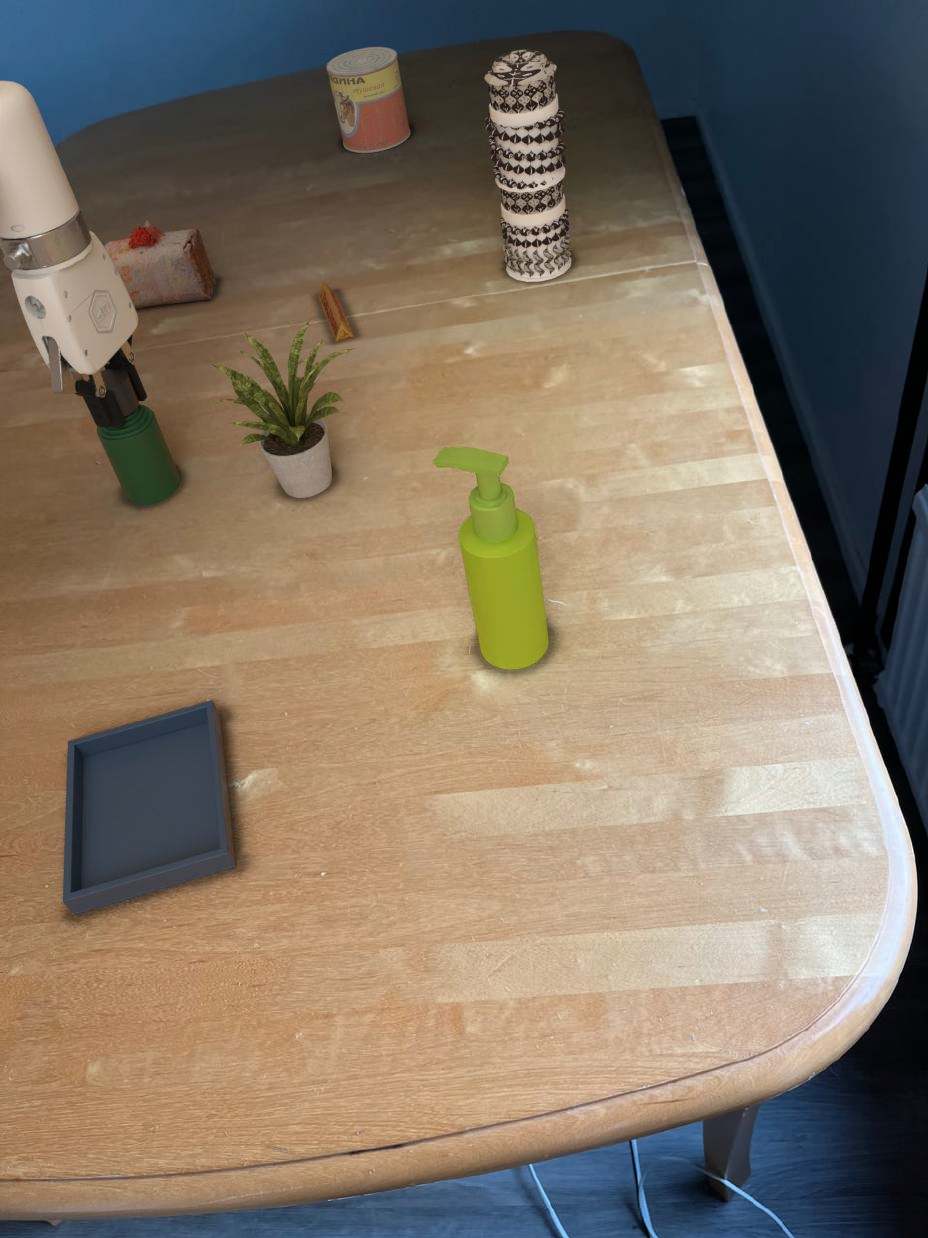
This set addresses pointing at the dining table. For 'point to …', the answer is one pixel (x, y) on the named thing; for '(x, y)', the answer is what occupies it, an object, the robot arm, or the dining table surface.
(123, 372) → the cap
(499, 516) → the soap dispenser
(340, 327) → the chocolate bar
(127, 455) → the bottle
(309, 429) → the house plant
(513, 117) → the decorative candle
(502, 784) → the dining table surface
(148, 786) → the tray
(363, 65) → the canned food
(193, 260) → the food item
